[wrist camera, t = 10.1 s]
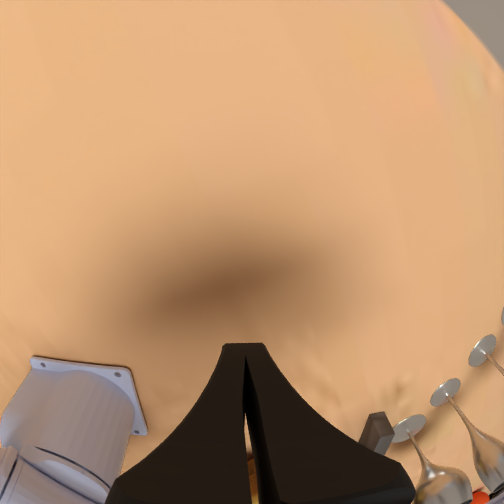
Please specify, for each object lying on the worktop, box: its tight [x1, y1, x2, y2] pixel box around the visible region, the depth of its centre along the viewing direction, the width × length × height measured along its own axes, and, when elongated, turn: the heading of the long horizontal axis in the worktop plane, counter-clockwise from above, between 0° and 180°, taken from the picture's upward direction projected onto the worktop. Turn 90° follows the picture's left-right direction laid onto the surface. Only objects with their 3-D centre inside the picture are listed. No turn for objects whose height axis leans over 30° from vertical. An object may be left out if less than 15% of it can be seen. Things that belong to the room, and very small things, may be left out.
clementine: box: [470, 491, 490, 504], centre depth 39 cm, size 8×7×7 cm
